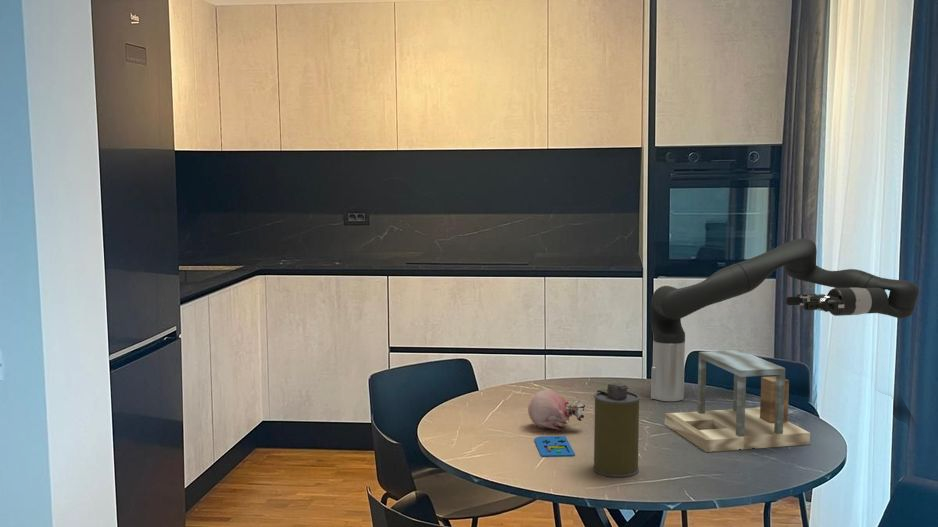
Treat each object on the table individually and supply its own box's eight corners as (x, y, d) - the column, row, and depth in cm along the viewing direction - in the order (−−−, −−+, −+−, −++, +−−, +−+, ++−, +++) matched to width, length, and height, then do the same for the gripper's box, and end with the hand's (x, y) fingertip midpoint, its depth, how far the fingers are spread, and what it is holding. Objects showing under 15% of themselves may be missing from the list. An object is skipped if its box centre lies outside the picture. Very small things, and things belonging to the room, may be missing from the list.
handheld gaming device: (565, 434, 236) (575, 453, 221) (565, 438, 236) (575, 457, 221) (533, 435, 235) (541, 454, 220) (533, 439, 235) (541, 458, 220)
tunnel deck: (705, 452, 224) (707, 373, 222) (664, 424, 247) (666, 352, 245) (809, 444, 230) (812, 367, 228) (759, 418, 253) (762, 348, 251)
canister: (648, 472, 210) (650, 386, 208) (613, 480, 204) (615, 392, 202) (616, 459, 219) (617, 376, 217) (582, 466, 213) (583, 382, 211)
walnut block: (769, 423, 237) (771, 381, 236) (759, 418, 242) (761, 377, 241) (787, 422, 239) (789, 380, 237) (777, 416, 243) (778, 376, 242)
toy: (588, 417, 249) (533, 410, 253) (589, 383, 245) (533, 377, 248) (581, 443, 239) (524, 435, 242) (581, 408, 234) (524, 401, 238)
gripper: (834, 284, 258) (781, 286, 254) (866, 291, 244) (811, 293, 241) (833, 310, 259) (780, 313, 255) (864, 319, 245) (809, 321, 242)
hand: (795, 303), depth 248 cm, fingers open, 8 cm apart
